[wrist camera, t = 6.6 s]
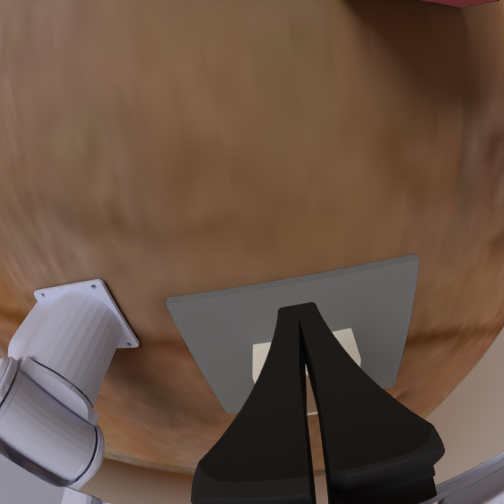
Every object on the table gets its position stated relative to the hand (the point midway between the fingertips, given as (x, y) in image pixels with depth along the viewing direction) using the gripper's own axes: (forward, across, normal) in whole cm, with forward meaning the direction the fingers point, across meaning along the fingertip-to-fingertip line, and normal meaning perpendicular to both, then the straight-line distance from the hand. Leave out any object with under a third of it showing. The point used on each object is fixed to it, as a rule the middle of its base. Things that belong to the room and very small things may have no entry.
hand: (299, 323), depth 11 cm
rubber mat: (+10, 0, +14) cm, 17 cm away
